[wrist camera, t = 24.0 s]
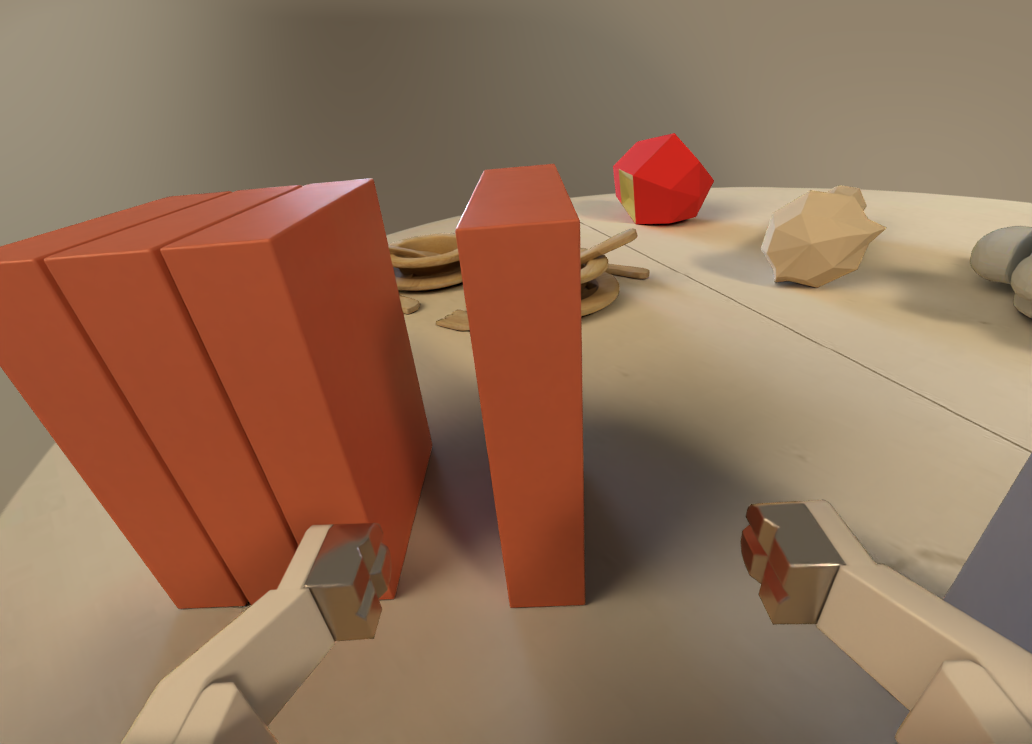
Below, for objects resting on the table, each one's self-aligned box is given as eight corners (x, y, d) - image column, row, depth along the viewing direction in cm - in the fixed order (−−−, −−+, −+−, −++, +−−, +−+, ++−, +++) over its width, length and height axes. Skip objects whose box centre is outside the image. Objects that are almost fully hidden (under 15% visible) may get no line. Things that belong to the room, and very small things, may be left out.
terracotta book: (585, 605, 19) (580, 218, 11) (509, 608, 19) (454, 229, 11) (565, 444, 27) (555, 163, 20) (513, 447, 28) (483, 169, 20)
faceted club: (734, 278, 44) (787, 226, 62) (830, 318, 41) (857, 250, 58) (782, 182, 39) (825, 154, 56) (897, 218, 36) (905, 176, 53)
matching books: (394, 599, 20) (269, 239, 12) (177, 609, 20) (-75, 268, 13) (433, 445, 28) (373, 177, 21) (280, 454, 29) (167, 196, 21)
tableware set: (654, 276, 49) (658, 218, 46) (551, 357, 36) (547, 283, 33) (449, 247, 66) (442, 202, 63) (327, 295, 53) (311, 242, 50)
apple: (652, 245, 63) (584, 205, 72) (714, 233, 68) (643, 197, 78) (680, 150, 55) (599, 119, 65) (746, 144, 61) (663, 116, 70)
